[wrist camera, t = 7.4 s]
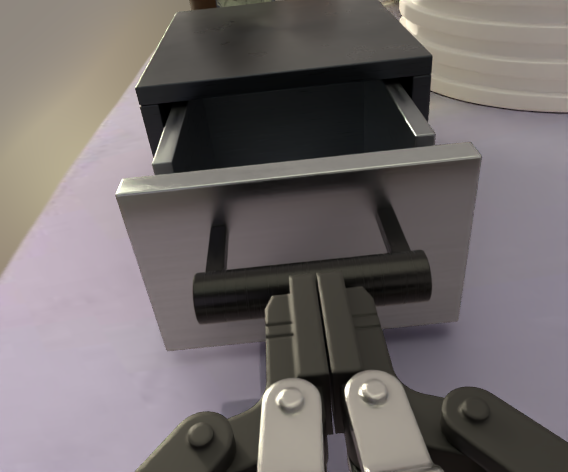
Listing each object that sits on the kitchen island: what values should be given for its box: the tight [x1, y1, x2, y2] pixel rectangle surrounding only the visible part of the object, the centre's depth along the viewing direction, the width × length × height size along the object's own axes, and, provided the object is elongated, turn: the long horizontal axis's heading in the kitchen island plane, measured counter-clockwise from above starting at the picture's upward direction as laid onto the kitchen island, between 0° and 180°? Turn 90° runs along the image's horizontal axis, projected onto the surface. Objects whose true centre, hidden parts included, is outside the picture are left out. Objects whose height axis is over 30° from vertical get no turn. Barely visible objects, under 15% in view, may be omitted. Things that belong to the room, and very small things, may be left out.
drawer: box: [116, 78, 482, 351], centre depth 24 cm, size 19×13×8 cm, turn 3°
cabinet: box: [135, 0, 433, 158], centre depth 33 cm, size 16×14×10 cm
